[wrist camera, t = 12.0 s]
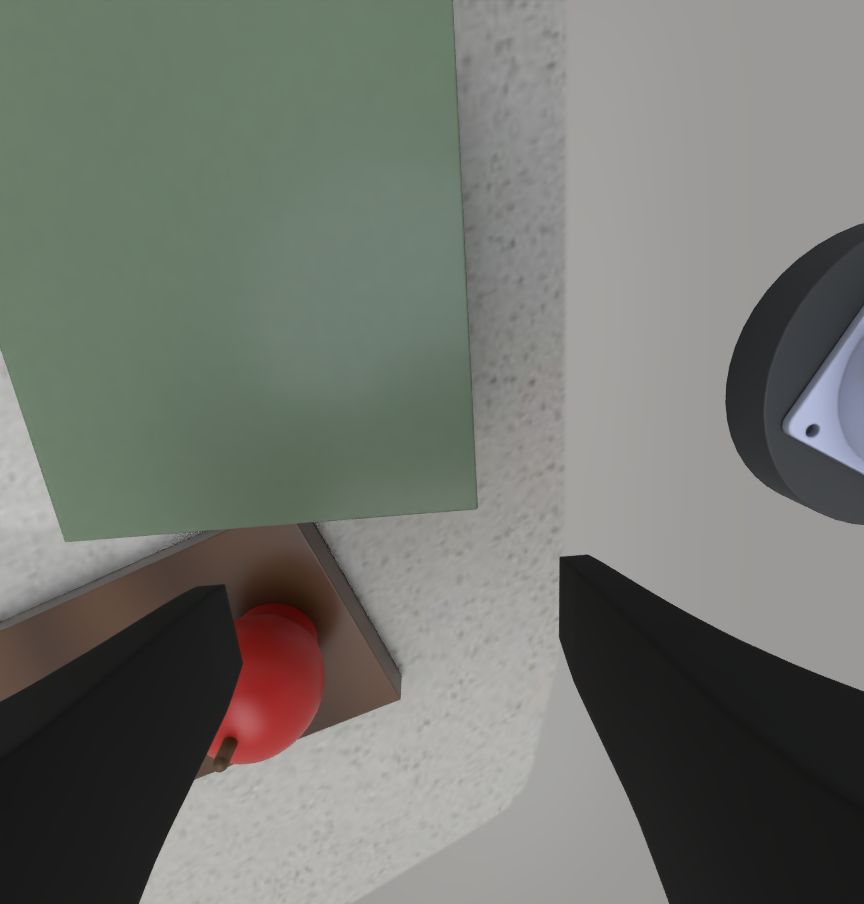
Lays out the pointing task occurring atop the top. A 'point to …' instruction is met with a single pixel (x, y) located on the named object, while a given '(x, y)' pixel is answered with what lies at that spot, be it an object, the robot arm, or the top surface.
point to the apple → (270, 686)
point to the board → (248, 585)
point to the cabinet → (235, 260)
